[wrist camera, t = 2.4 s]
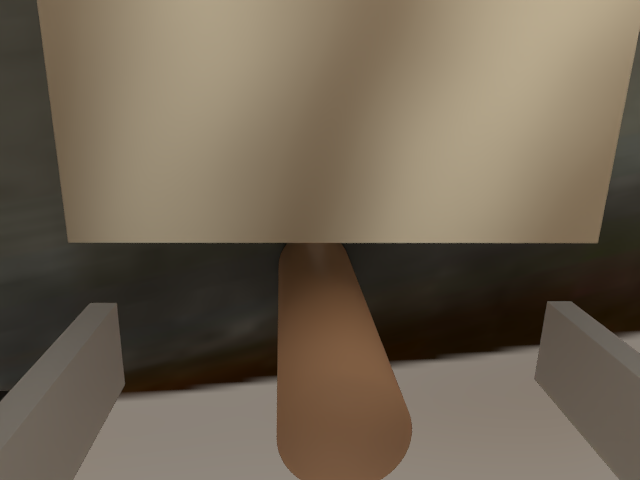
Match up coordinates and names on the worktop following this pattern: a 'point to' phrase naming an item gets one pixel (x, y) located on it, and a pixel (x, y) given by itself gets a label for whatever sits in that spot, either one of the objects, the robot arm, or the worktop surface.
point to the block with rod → (333, 373)
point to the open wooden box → (336, 118)
